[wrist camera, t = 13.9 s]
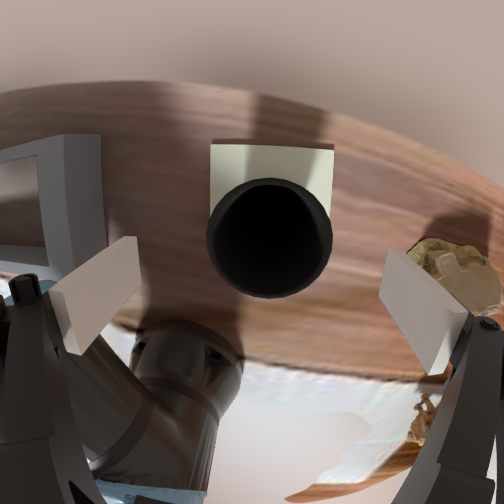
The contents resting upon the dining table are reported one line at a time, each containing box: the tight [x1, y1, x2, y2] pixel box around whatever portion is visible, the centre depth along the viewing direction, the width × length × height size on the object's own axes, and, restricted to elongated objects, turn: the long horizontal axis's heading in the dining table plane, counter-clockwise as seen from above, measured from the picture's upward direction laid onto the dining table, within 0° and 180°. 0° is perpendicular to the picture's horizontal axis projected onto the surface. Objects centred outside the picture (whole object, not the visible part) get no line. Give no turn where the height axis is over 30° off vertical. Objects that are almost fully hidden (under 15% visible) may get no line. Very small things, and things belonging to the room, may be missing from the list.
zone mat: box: [210, 144, 334, 217], centre depth 29 cm, size 12×12×1 cm
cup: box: [206, 177, 333, 299], centre depth 23 cm, size 8×8×12 cm
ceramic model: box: [406, 238, 503, 317], centre depth 26 cm, size 14×11×10 cm
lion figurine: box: [407, 394, 437, 446], centre depth 34 cm, size 15×5×9 cm, turn 74°
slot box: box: [0, 134, 108, 281], centre depth 28 cm, size 15×32×7 cm, turn 88°
